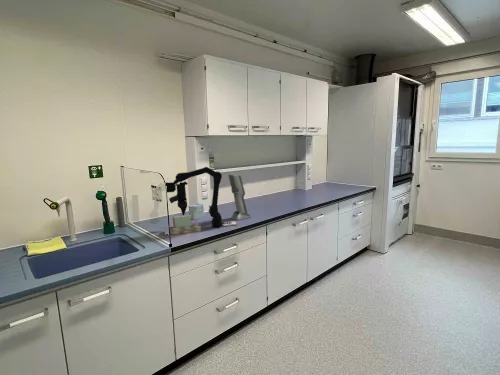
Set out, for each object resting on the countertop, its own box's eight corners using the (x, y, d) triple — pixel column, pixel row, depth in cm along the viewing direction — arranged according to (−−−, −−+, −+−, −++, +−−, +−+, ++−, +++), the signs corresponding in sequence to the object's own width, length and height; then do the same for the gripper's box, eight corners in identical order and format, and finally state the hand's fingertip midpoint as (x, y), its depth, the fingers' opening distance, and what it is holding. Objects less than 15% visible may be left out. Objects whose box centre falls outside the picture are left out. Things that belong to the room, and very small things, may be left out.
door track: (200, 227, 192) (200, 222, 191) (201, 231, 183) (200, 226, 182) (165, 231, 186) (165, 226, 186) (164, 235, 178) (164, 230, 177)
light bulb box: (199, 215, 225) (198, 203, 223) (204, 216, 221) (203, 203, 219) (188, 218, 217) (187, 205, 215) (194, 219, 212) (193, 206, 211)
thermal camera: (229, 217, 214) (226, 174, 208) (242, 214, 221) (240, 172, 215) (237, 220, 204) (234, 175, 199) (251, 217, 211) (249, 173, 206)
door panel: (191, 227, 187) (190, 215, 185) (191, 228, 185) (190, 216, 183) (173, 229, 184) (172, 217, 183) (173, 230, 182) (172, 217, 181)
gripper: (169, 190, 190) (171, 211, 193) (168, 194, 172) (170, 218, 175) (185, 189, 193) (187, 210, 195) (186, 193, 175) (188, 216, 178)
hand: (183, 213), depth 186 cm, fingers open, 9 cm apart
